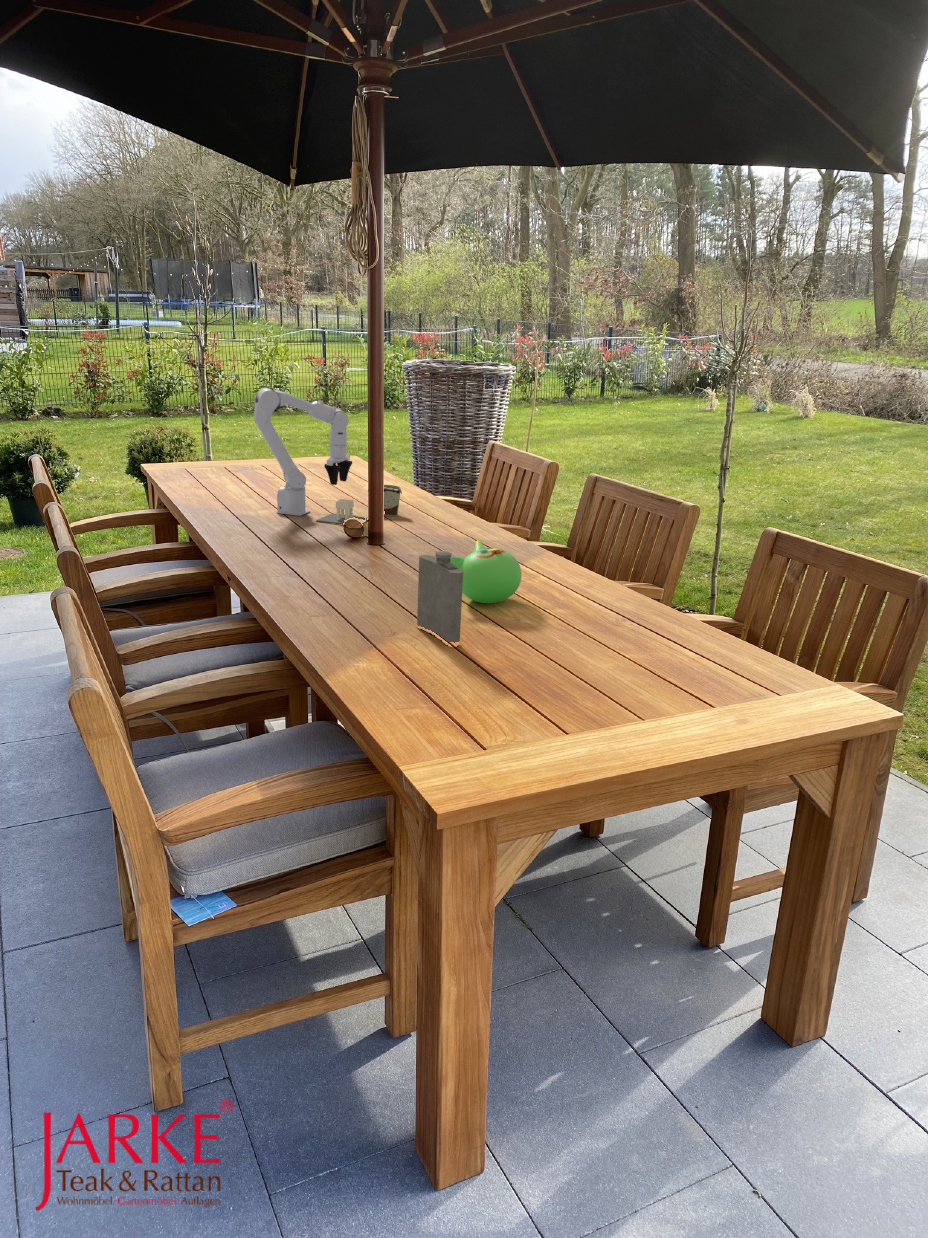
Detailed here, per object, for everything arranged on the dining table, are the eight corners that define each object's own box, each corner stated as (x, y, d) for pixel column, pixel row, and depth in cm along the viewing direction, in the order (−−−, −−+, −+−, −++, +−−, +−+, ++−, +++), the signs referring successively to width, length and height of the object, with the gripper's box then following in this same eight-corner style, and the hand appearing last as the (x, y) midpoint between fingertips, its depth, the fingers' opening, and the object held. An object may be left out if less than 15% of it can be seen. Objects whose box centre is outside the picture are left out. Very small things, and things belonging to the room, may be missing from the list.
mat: (316, 521, 307) (316, 519, 306) (332, 514, 317) (332, 513, 317) (356, 526, 302) (356, 525, 302) (370, 519, 313) (370, 518, 313)
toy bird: (496, 616, 222) (500, 559, 217) (440, 602, 231) (442, 547, 226) (530, 598, 237) (534, 545, 232) (476, 586, 245) (479, 534, 240)
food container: (404, 512, 326) (404, 485, 323) (401, 516, 320) (401, 488, 317) (370, 510, 327) (371, 483, 324) (367, 513, 321) (367, 486, 318)
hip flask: (414, 626, 212) (416, 545, 206) (429, 624, 215) (432, 543, 208) (450, 648, 200) (454, 562, 193) (465, 645, 202) (469, 560, 196)
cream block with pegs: (347, 521, 307) (347, 502, 305) (335, 519, 308) (335, 501, 306) (353, 518, 311) (353, 500, 309) (341, 517, 312) (341, 498, 310)
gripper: (339, 448, 307) (339, 487, 312) (357, 442, 320) (357, 480, 325) (321, 446, 309) (321, 485, 314) (339, 441, 322) (339, 478, 327)
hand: (338, 482), depth 319 cm, fingers open, 7 cm apart
